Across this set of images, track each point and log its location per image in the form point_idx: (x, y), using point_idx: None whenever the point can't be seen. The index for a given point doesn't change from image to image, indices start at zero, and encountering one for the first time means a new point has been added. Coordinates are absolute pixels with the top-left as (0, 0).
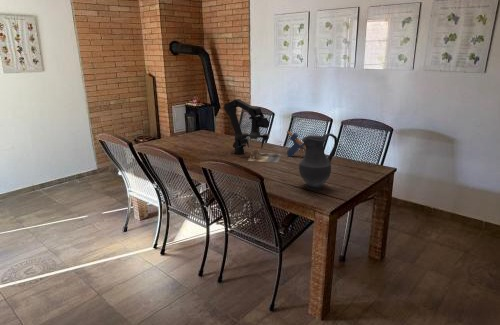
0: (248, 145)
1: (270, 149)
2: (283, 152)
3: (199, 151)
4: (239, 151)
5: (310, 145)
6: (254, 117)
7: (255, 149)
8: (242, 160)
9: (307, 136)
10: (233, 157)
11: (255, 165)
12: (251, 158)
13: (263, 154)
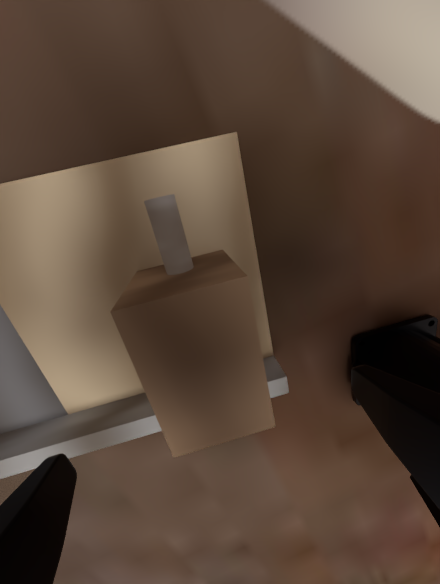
0: (412, 400)
1: (204, 566)
2: (72, 570)
3: None
4: (427, 361)
5: None
6: None
7: (234, 429)
8: (317, 213)
9: None
10: (429, 272)
11: (57, 48)
12: (219, 250)
13: (127, 414)
